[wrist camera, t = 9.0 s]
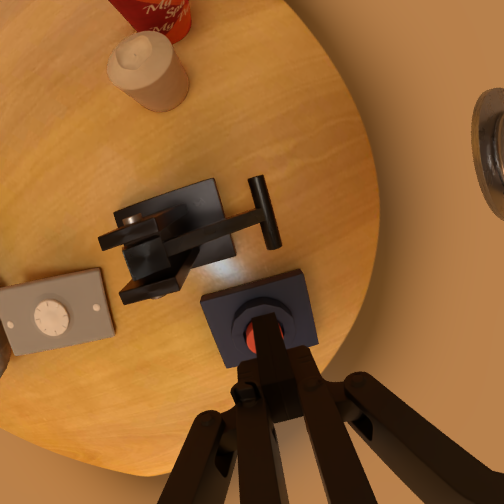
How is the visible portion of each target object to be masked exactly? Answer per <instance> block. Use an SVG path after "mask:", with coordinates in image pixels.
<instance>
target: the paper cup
mask: <svg viewBox="0 0 504 504" xmlns="http://www.w3.org/2000/svg"><path fill="white" fill-rule="evenodd" d="M108 1H109V2H110V3H111V4H112V5H113V6H114V7H115V8H116V9H117V10H118V11H119V12H120V13H121V14H122V15H123V17H124V18H125V19H126V20H127V21H128V22H129V23H130V24H131V25H132V26H133V27H134V29H135V30H136V31H137V32H142V31H155V32H159V33H161V34H163V35H165V36H166V37H167V38H168V39H169V41H170V42H171V44H174V43H176V42H178V41H180V40H181V39H183V38H184V37H185V36H186V35H187V33H188V32H189V30H190V28H191V14H190V7H189V0H108Z"/></svg>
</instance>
